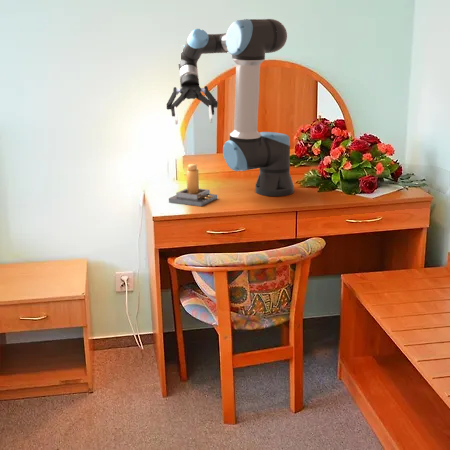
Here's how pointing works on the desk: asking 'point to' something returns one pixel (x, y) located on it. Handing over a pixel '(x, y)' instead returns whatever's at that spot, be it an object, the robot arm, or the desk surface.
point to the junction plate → (193, 197)
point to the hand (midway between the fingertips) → (194, 121)
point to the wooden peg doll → (192, 179)
